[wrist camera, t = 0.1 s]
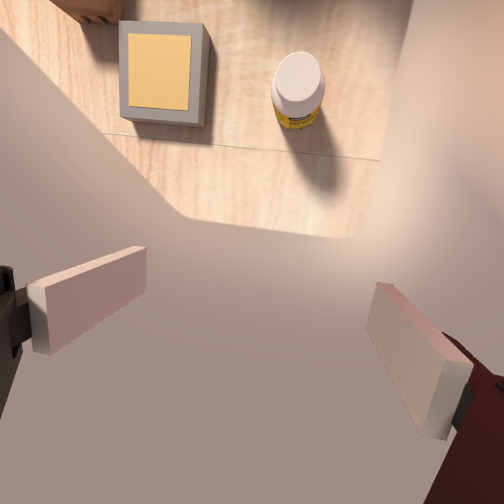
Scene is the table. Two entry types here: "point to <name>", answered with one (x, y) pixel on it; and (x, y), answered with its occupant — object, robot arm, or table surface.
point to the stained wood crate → (92, 10)
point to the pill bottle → (297, 91)
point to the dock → (163, 72)
